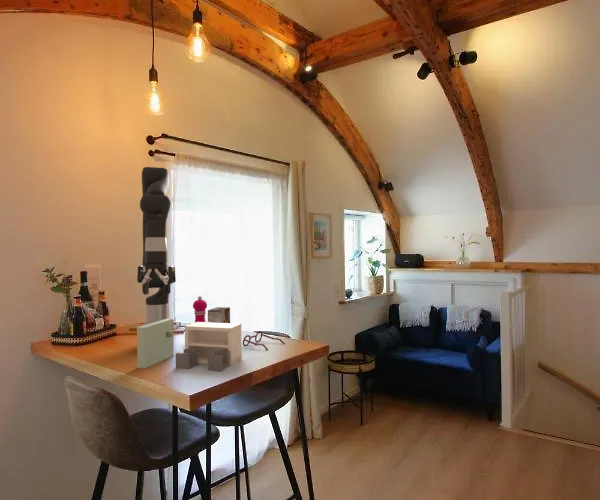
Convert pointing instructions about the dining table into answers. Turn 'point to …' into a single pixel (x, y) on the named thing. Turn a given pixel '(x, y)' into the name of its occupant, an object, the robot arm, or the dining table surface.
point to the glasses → (258, 340)
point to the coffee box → (219, 315)
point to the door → (154, 343)
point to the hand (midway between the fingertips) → (156, 294)
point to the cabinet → (211, 345)
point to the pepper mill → (200, 309)
